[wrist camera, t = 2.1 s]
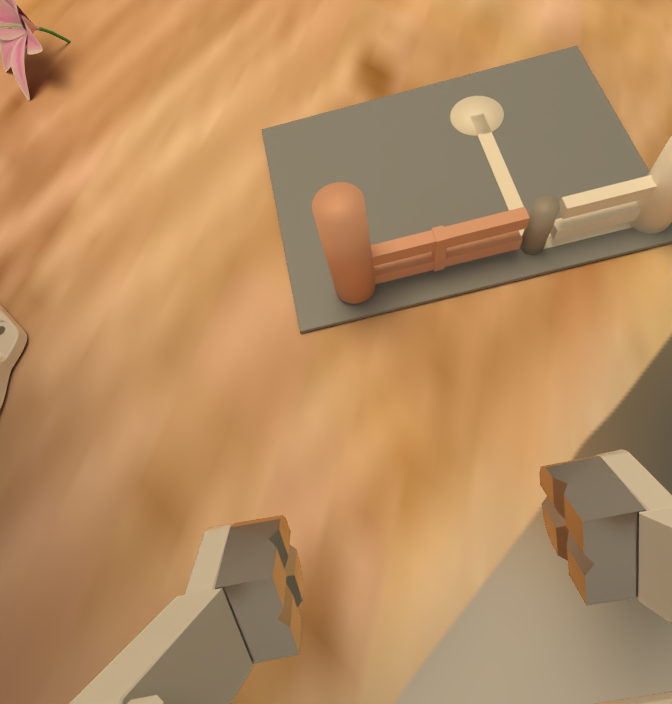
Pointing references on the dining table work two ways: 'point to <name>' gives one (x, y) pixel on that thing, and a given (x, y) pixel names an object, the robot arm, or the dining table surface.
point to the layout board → (454, 176)
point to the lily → (18, 40)
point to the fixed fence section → (605, 207)
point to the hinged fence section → (400, 243)
